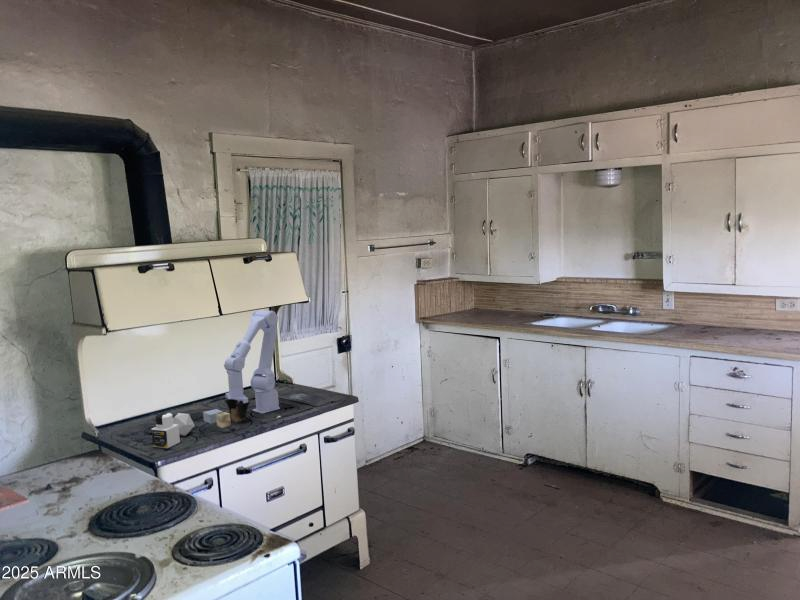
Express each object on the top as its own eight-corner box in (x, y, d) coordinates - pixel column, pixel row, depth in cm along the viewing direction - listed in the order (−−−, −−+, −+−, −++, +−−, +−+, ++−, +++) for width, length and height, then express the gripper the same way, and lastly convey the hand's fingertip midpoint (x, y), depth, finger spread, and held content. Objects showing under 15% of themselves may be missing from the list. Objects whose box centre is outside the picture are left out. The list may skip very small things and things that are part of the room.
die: (199, 433, 261) (192, 410, 265) (190, 429, 252) (183, 405, 256) (179, 442, 260) (173, 419, 264) (170, 438, 252) (163, 414, 256)
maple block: (225, 423, 270) (224, 412, 269) (230, 425, 267) (229, 413, 266) (216, 426, 267) (216, 414, 266) (222, 428, 264) (221, 416, 264)
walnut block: (240, 418, 277) (239, 406, 276) (245, 419, 274) (244, 408, 273) (231, 420, 274) (230, 408, 274) (236, 422, 271) (235, 410, 271)
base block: (216, 418, 279) (216, 408, 279) (223, 420, 275) (223, 411, 274) (203, 421, 275) (203, 412, 275) (210, 424, 271) (209, 414, 270)
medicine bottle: (152, 447, 245) (149, 416, 243) (165, 440, 251) (162, 410, 250) (167, 448, 242) (164, 417, 241) (180, 442, 249) (177, 411, 247)
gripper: (218, 384, 275) (220, 415, 276) (236, 389, 264) (239, 422, 266) (233, 381, 279) (235, 411, 281) (251, 386, 269) (253, 418, 271)
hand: (238, 416), depth 274 cm, fingers open, 7 cm apart
